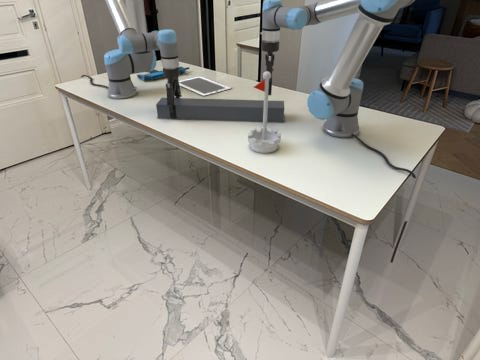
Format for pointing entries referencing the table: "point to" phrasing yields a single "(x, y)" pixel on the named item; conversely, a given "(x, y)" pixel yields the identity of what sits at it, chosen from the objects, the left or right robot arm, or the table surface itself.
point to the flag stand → (264, 125)
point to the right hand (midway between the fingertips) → (268, 90)
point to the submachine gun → (157, 74)
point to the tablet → (202, 86)
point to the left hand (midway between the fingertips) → (176, 114)
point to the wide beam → (222, 109)
